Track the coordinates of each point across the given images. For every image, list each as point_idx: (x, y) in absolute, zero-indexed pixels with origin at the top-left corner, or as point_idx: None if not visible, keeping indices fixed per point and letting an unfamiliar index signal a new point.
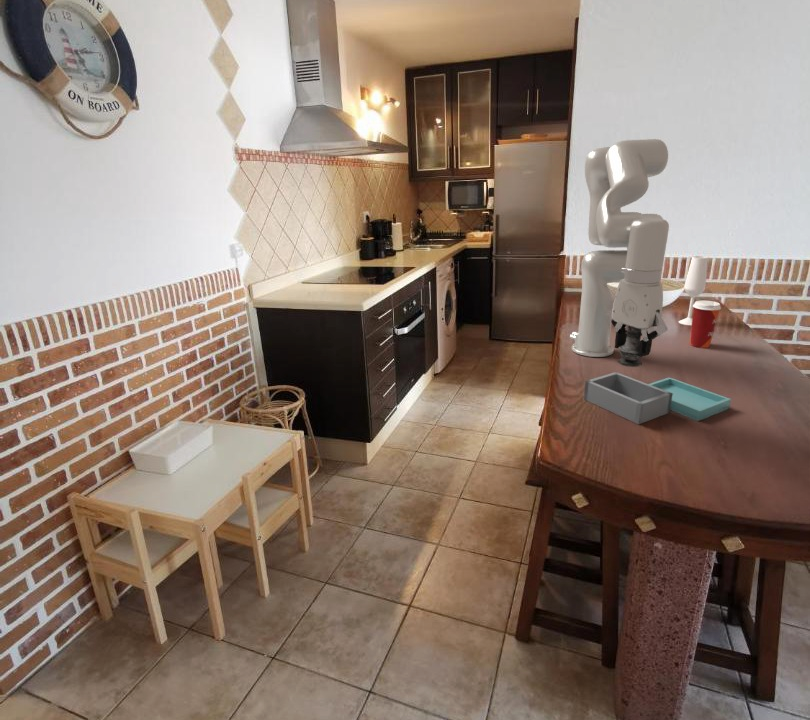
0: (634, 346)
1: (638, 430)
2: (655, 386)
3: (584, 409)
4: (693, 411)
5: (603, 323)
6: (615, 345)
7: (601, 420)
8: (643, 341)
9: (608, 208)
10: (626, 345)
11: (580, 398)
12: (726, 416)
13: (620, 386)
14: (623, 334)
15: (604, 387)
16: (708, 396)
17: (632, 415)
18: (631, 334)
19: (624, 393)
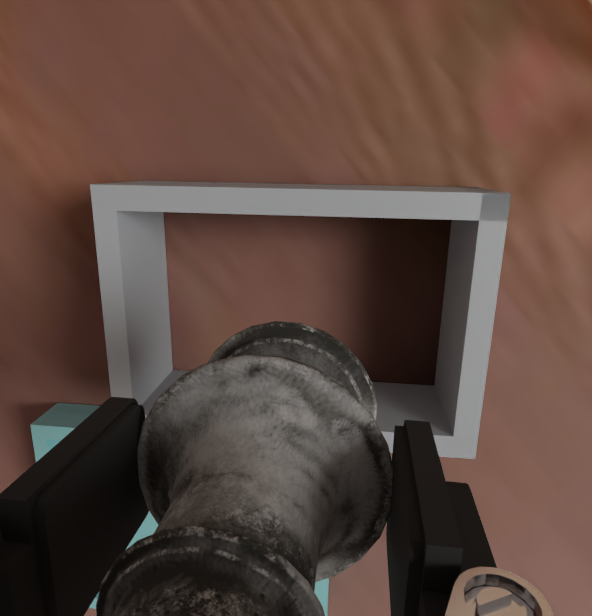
0: (183, 465)
1: (102, 131)
2: None
3: (391, 87)
4: (61, 420)
5: None
6: (422, 430)
7: (256, 61)
8: (7, 509)
9: None
10: (269, 442)
11: (495, 180)
12: None
13: (406, 402)
14: (399, 600)
15: (365, 210)
16: None
17: (165, 182)
18: (174, 557)
19: (375, 387)
